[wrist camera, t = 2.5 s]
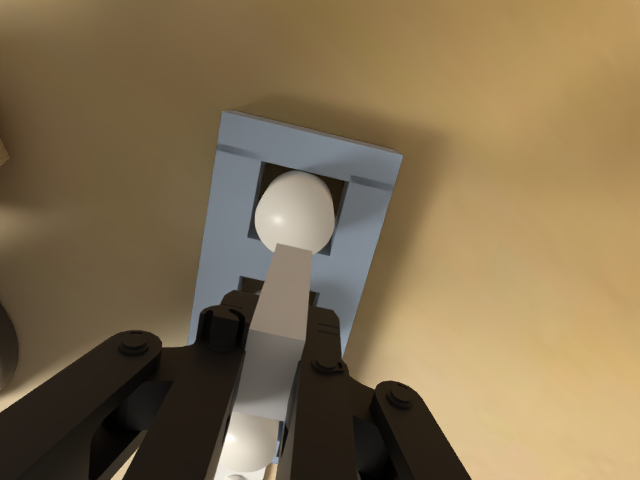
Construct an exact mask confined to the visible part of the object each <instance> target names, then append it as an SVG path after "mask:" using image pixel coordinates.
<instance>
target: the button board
mask: <svg viewBox="0 0 640 480" xmlns="http://www.w3.org/2000/svg"><path fill="white" fill-rule="evenodd" d="M402 159H403V155H402V154H401V153H399V152H398V151H397V150H394V149H390V148H386V147H382V146H378V145H374V144H370V143H366V142H361V141H357V140H353V139H349V138H345V137H341V136H337V135H333V134H329V133H325V132H321V131H317V130H312V129H308V128H304V127H300V126H296V125H292V124H288V123H284V122H280V121H276V120H272V119H267V118H263V117H259V116H255V115H251V114H247V113H243V112H239V111H235V110H227V111H222V115H221V122H220V129H219V135H218V142H217V149H216V155H215V162H214V169H213V175H212V182H211V189H210V195H209V202H208V209H207V215H206V222H205V229H204V235H203V242H202V249H201V255H200V262H199V269H198V275H197V282H196V289H195V295H194V302H193V309H192V315H191V322H190V329H189V335H188V342H187V346H188V345H192V344H194V342H195V340H196V334H197V328H198V322H199V315H200V312H201V311H202V310H203V309H204V308H207V307H210V306H213V305H220V303H221V301H222V299H223V297H224V295H225V294H227V293H229V292H231V291H232V290H238V291H241V288H242V283H243V278H244V277H248V278H253V279H258V280H262V281H265V279H266V275H267V272H268V269H269V266H270V263H271V260H272V257H273V254H274V252H272V251H271V250H270V249H268V248H267V247H266V246H265V245H264V244H263V242H262V241H261V239H260V238H259V236H258V233H257V231H256V227H255V225H254V221H255V212H256V208H257V205H258V200H259V194H260V189H261V184H262V179H263V174H264V168H265V163H266V162H268V163H272V164H276V165H280V166H285V167H289V168H293V169H297V170H302V171H306V172H310V173H314V174H319V175H323V176H327V177H331V178H335V179H340V180H344V181H345V183H344V187H343V191H342V194H341V198H340V202H339V206H338V210H337V214H336V218H335V223H334V230H333V233H332V236H331V238H330V241H329V242H328V243H327V244H326V245H325V246H324V247H323V248H322V249H321V250H320V251H318V252H317V253H315V254H313V255H312V265H311V277H310V290H309V291H314V292H316V295H315V298H314V302H313V306H317V307H322V308H326V309H331V310H333V311H334V312H335V313H336V315H337V316H338V318H339V321H340V336H341V351H342V358H343V355H344V351H345V348H346V345H347V341H348V338H349V335H350V331H351V328H352V325H353V321H354V318H355V315H356V311H357V308H358V305H359V301H360V298H361V295H362V291H363V288H364V285H365V282H366V278H367V275H368V272H369V268H370V265H371V262H372V258H373V255H374V252H375V248H376V245H377V242H378V238H379V235H380V232H381V228H382V225H383V222H384V218H385V215H386V212H387V209H388V205H389V202H390V199H391V195H392V192H393V189H394V185H395V182H396V179H397V175H398V172H399V169H400V165H401V162H402ZM285 421H286V417H285ZM285 421H279V429H278V437H277V444H276V452H275V456H274V458H273V460H272V461H271V463H275V464H278V459H279V457H276V455H277V451H278V447H279V444H280V440H281V436H282V432H283V428H284V425H285Z"/></svg>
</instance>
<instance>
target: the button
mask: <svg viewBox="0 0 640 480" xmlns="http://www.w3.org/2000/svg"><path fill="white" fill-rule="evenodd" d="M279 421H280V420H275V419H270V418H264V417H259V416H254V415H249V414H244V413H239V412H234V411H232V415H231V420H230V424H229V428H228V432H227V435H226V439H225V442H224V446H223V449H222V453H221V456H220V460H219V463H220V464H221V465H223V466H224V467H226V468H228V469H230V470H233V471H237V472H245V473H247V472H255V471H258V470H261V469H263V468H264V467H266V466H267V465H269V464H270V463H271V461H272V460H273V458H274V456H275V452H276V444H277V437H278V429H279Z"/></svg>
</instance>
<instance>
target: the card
mask: <svg viewBox="0 0 640 480" xmlns="http://www.w3.org/2000/svg"><path fill="white" fill-rule="evenodd" d="M265 469H266V467H264V468H263V469H261V470H258V471H255V472H247V473H245V472H237V471H233V470H230V469H228V468H226V467H224V466H223V465H221V464H220V463H218V467H217V470H216V474H215V477H214V480H263V477H264V473H265Z"/></svg>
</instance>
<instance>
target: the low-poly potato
mask: <svg viewBox="0 0 640 480" xmlns="http://www.w3.org/2000/svg"><path fill="white" fill-rule="evenodd" d="M9 159H10V156H9V154H8V152H7V150H6V149H5V147H4V145H3V143H2V141H1V139H0V166H1V165H3V164H4V163H5V162H6V161H7V160H9Z"/></svg>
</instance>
